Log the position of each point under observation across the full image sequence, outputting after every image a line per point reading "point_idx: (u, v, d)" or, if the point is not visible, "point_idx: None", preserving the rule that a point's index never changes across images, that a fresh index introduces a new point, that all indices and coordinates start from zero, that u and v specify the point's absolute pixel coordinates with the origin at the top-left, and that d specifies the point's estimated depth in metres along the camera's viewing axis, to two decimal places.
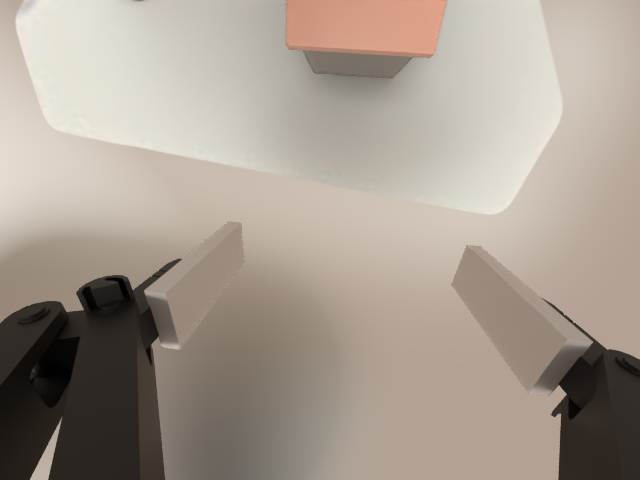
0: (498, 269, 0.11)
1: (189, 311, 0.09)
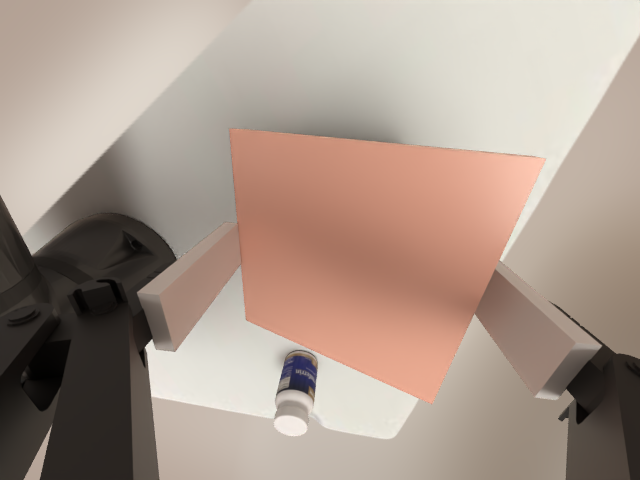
0: (503, 271, 0.11)
1: (184, 313, 0.09)
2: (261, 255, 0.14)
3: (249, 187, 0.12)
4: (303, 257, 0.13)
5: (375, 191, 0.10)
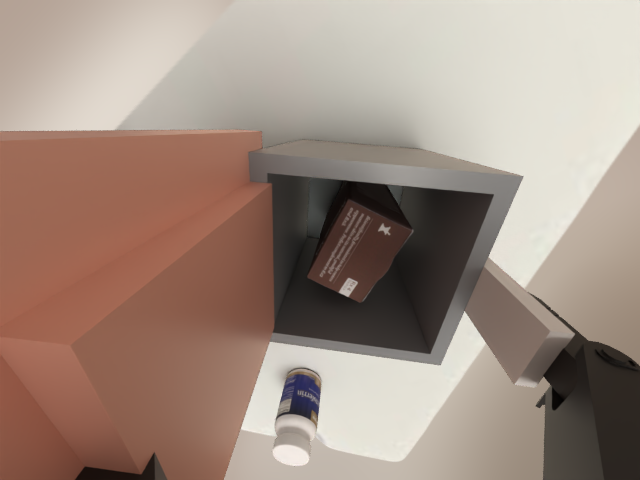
0: (488, 265, 0.11)
1: None
2: None
3: None
4: None
5: None
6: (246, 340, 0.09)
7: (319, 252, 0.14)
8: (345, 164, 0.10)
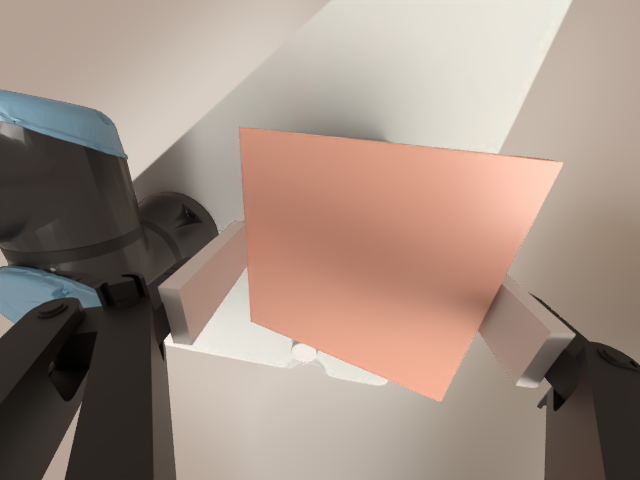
0: None
1: (200, 308, 0.10)
2: (269, 256, 0.14)
3: (258, 187, 0.12)
4: (313, 258, 0.13)
5: (390, 193, 0.10)
6: None
7: None
8: None
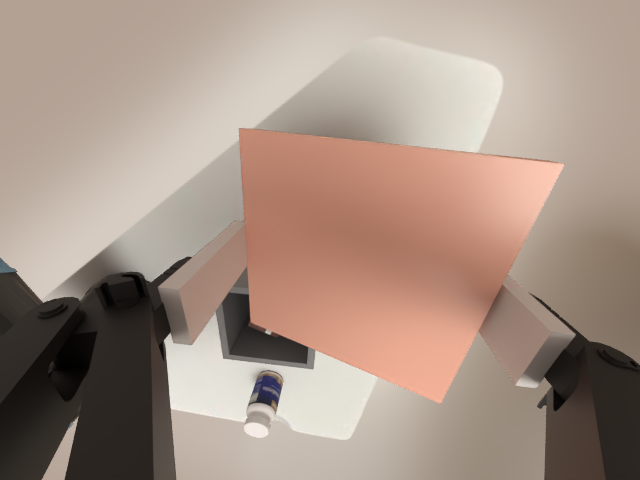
0: None
1: (200, 308, 0.10)
2: (269, 257, 0.14)
3: (258, 188, 0.12)
4: (313, 259, 0.13)
5: (390, 194, 0.10)
6: None
7: None
8: None
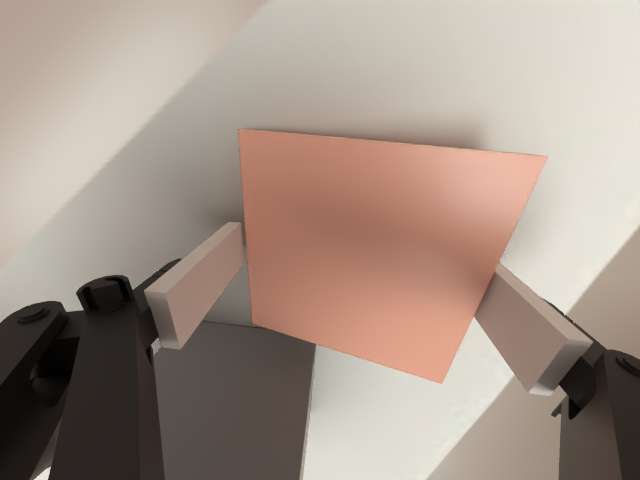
0: (498, 269, 0.11)
1: (189, 311, 0.09)
2: (271, 256, 0.14)
3: (259, 188, 0.12)
4: (317, 256, 0.13)
5: (392, 189, 0.10)
6: None
7: None
8: None
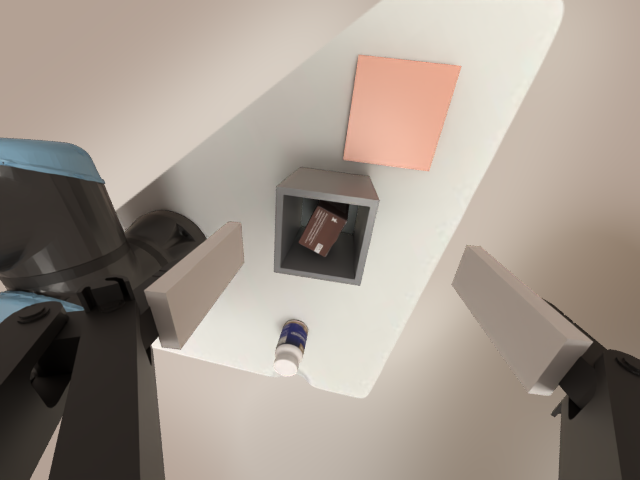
0: (498, 269, 0.11)
1: (189, 311, 0.09)
2: (361, 116, 0.32)
3: (362, 82, 0.30)
4: (383, 113, 0.32)
5: (416, 79, 0.30)
6: None
7: (304, 230, 0.30)
8: (313, 192, 0.25)
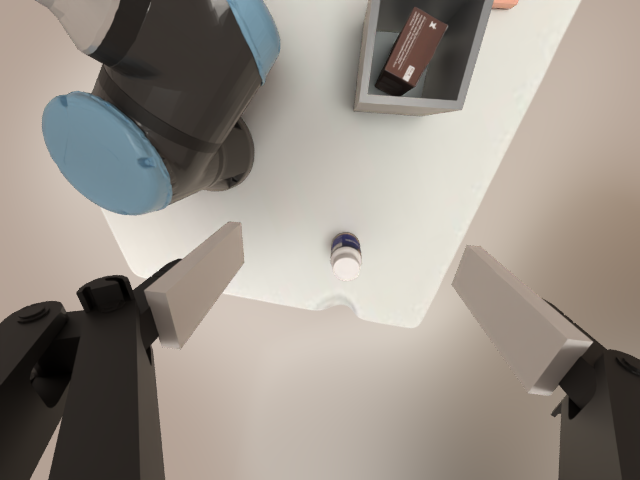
0: (498, 269, 0.11)
1: (189, 311, 0.09)
2: None
3: None
4: None
5: None
6: None
7: (394, 48, 0.25)
8: None
